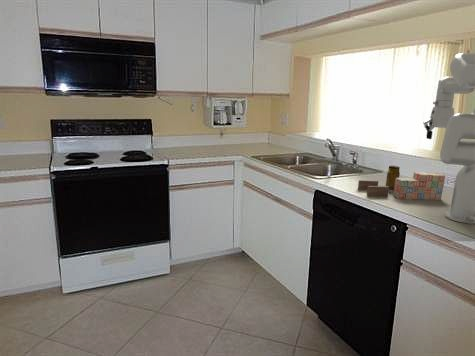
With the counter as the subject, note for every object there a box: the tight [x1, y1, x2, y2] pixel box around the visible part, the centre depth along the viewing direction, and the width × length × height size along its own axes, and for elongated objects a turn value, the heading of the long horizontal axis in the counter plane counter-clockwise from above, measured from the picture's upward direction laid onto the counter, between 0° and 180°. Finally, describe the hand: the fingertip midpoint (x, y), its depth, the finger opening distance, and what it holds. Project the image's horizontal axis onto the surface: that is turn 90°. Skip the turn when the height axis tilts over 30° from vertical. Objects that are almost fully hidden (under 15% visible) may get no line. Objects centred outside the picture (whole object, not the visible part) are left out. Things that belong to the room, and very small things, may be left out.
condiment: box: [385, 165, 401, 190], centre depth 188 cm, size 7×8×12 cm
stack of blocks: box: [392, 171, 446, 201], centre depth 174 cm, size 21×6×12 cm, turn 94°
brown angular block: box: [357, 179, 389, 198], centre depth 180 cm, size 13×10×5 cm
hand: (438, 139), depth 178 cm, fingers open, 9 cm apart
